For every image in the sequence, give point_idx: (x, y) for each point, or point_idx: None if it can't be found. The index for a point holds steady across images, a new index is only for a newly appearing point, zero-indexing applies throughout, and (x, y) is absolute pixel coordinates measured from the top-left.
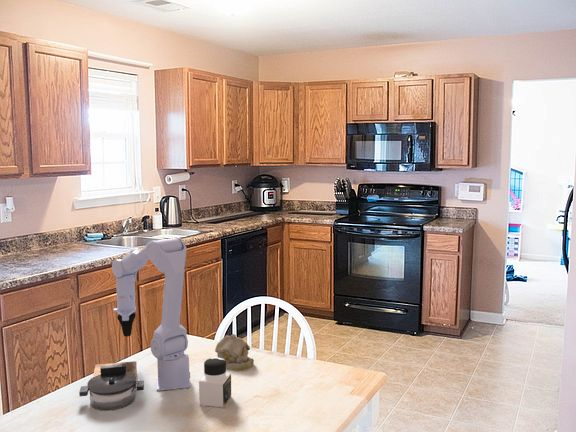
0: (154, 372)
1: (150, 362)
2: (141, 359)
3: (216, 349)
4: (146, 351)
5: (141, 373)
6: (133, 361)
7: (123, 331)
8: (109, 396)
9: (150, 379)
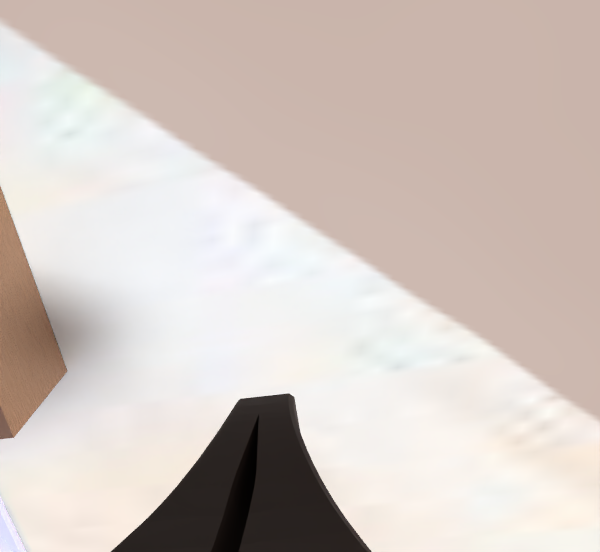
0: (118, 460)
1: None
2: (353, 359)
3: None
4: (513, 370)
5: (98, 392)
6: (5, 418)
7: (214, 447)
8: None
9: (9, 451)
